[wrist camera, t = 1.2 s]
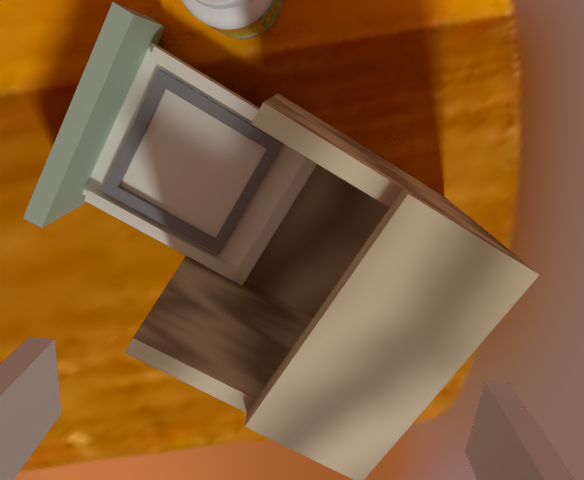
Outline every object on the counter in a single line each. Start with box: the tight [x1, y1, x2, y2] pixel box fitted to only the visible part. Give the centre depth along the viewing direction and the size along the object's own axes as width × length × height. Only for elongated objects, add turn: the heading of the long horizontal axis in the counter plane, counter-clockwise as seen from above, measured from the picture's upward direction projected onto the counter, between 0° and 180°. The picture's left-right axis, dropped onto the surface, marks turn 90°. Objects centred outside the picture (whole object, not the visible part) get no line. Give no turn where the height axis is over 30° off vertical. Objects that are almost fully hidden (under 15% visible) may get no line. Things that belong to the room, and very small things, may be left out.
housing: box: [125, 93, 539, 480], centre depth 28 cm, size 14×14×14 cm
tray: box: [23, 2, 317, 285], centre depth 30 cm, size 14×14×6 cm
